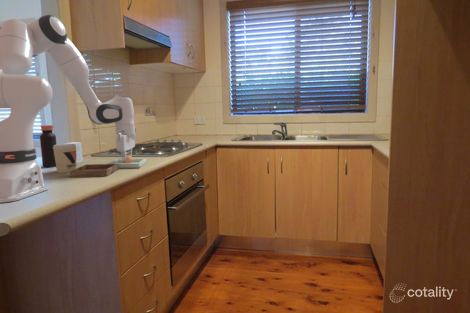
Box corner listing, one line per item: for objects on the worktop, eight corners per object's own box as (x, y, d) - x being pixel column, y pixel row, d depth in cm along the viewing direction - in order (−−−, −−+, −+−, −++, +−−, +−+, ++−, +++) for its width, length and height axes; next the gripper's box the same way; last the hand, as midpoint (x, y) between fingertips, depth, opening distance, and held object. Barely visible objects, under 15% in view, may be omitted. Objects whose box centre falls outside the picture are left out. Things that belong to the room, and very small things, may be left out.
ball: (130, 164, 159) (130, 155, 159) (121, 164, 159) (121, 155, 159) (133, 164, 163) (133, 155, 163) (124, 164, 163) (124, 155, 163)
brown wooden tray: (107, 176, 137) (106, 170, 136) (70, 177, 136) (70, 171, 135) (118, 169, 152) (118, 163, 152) (85, 170, 151) (85, 164, 151)
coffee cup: (69, 173, 144) (66, 146, 142) (50, 172, 146) (47, 145, 144) (82, 169, 153) (80, 143, 151) (65, 169, 155) (62, 143, 153)
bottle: (40, 166, 162) (36, 125, 159) (54, 164, 167) (50, 125, 164) (46, 168, 158) (42, 126, 155) (61, 166, 163) (57, 125, 160)
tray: (139, 168, 154) (139, 163, 154) (106, 168, 153) (106, 164, 153) (146, 162, 169) (146, 158, 169) (116, 163, 168) (116, 159, 168)
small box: (74, 161, 176) (72, 142, 175) (83, 162, 175) (81, 142, 173) (62, 164, 168) (61, 143, 167) (72, 164, 167) (70, 143, 165)
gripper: (126, 131, 148) (127, 162, 150) (137, 128, 169) (138, 155, 171) (111, 131, 148) (113, 162, 150) (124, 129, 168) (126, 156, 170)
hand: (127, 158), depth 161 cm, fingers open, 8 cm apart
